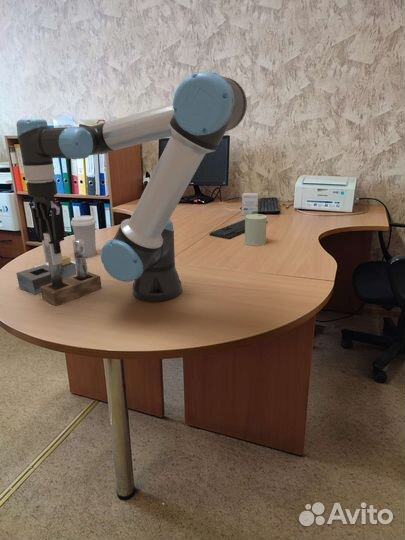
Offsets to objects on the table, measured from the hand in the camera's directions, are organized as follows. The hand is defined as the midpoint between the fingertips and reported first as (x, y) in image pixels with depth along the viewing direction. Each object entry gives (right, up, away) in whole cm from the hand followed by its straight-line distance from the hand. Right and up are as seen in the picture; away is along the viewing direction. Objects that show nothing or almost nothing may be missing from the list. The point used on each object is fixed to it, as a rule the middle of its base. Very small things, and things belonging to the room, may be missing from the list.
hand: (54, 262), depth 113 cm
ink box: (+69, +28, +101) cm, 126 cm away
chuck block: (-7, -7, +15) cm, 18 cm away
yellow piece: (-3, -4, +19) cm, 20 cm away
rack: (+3, -10, +7) cm, 12 cm away
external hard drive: (-11, -2, +29) cm, 31 cm away
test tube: (+6, -8, +10) cm, 14 cm away
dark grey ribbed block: (+61, +17, +75) cm, 98 cm away
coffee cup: (-3, +4, +42) cm, 42 cm away
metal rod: (0, -7, +3) cm, 7 cm away
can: (+66, +9, +53) cm, 85 cm away
